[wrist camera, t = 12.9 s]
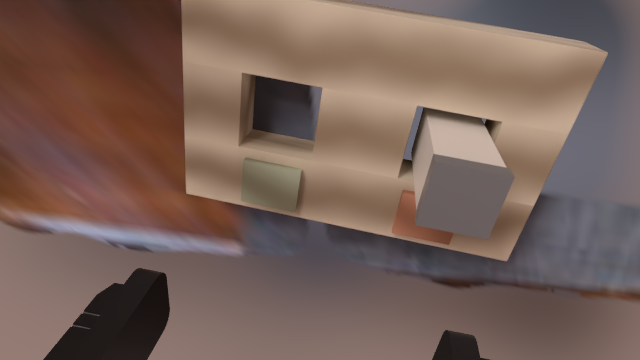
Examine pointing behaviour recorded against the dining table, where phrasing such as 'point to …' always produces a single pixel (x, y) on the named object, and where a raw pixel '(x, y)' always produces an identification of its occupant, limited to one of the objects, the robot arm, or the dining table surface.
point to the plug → (457, 174)
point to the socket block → (370, 108)
